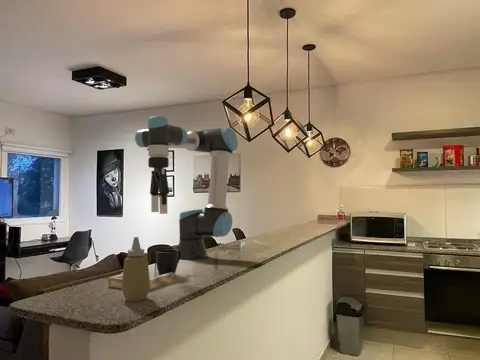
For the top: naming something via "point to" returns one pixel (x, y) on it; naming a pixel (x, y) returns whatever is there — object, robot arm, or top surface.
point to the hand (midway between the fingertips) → (159, 212)
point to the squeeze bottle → (135, 274)
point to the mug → (167, 260)
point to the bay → (154, 282)
